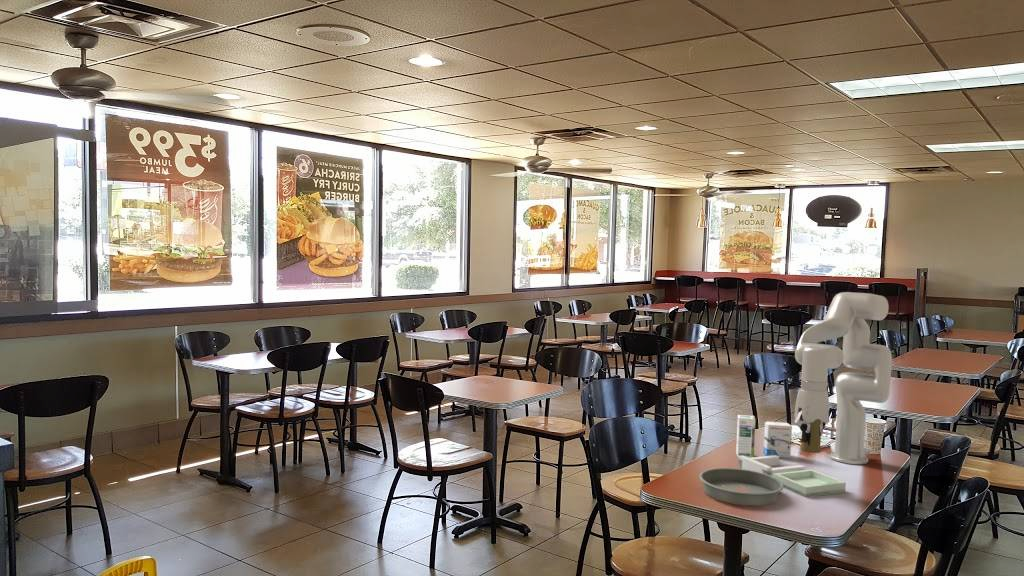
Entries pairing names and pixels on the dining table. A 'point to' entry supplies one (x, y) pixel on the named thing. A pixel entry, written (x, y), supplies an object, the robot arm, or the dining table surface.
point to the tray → (810, 483)
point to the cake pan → (760, 485)
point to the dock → (765, 465)
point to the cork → (813, 438)
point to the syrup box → (745, 436)
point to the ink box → (777, 439)
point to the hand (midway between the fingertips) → (810, 443)
